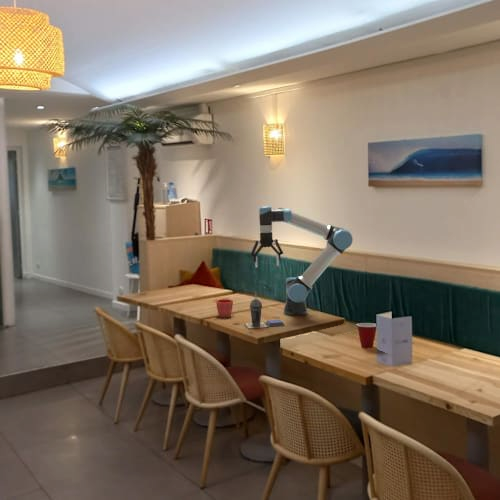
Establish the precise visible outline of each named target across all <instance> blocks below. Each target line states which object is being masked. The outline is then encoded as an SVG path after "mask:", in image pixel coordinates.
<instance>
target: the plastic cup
mask: <svg viewBox="0 0 500 500" xmlns="http://www.w3.org/2000/svg"><path fill="white" fill-rule="evenodd" d="M376 324H377V323H374V322H373V323H372V322H360V323H356V327H357V331H358V336H359V341H360V347H361V348H363V349H372V348H373V347H374V342H375V338H376V337H375V336H376V333H377V332H376V331H377V328H376Z"/></svg>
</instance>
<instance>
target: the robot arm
mask: <svg viewBox="0 0 500 500" xmlns="http://www.w3.org/2000/svg"><path fill="white" fill-rule="evenodd" d="M258 211H259V212H258V213H259V214H258V215H259V216H258V217H259V218H258V219H259V240H257V239H255V241H254V246H253V247H252V250H251V253H250V255H249V256H251V257H253V263H255V266H254V267H255V268H258V255H259V253H260V252H261V251H262V249H264V248H271V250H273V251H274V252H275V253H276V257H275V258H276V266H277V267H279V266H280V261H281V255H283V254H284V252H283V250H282V247H281V245H280V244H279V240H278V239H276V238H275V239H273V223H276V222H277V223H278V222H279V223H280V222H283V223H286V224H289V225H292V226H294V227H296V228H299V229H301V230H304V231H307V232H309V233H312V234H314V235H317V236H319V237H322V238H323V239H324V240H326V246H325V247H324V248H323V249H322V250H321V251H320V253H319V255H317V257H316V258H315V259H314V261H312V262H311V264H310V265H309V266H308V267H307V269H305V271H304V272H302V274H301V275H298V276H297V277H287V278H286V279H285V284H286V285H285V291H286V292H285V299H286V301H285V304H284V308H283V315H287V316H305V315H307V314H308V308H307V304H306V301H305V300H306V298H307V297H308V294H309V293H310V292H311V291H312V289H313V285H314V283H315V282H316V281H317V280H318V279H319V278H320V276H321V275H322V274H323V273H324V272H325V270H327V268H328V267H329V266H330V264H331V263H332V262H333V261H335V259H336V258H337V257H338V255H342V254H343V253H344V252H345V251H346V250H347V249H349V248H350V247H351V246H352V244H353V240H354V239H353V235H352V234H351V232H350V231H348V230H347V229H345V228H341V227H337V226H333V225H332V224H330V225H326V224H324V223H321V222H319V221H316V220H313V219H311V218H308V217H307V216H303V215H300V214H297V213H295V212H293V211H292V210H291V209H290V208H283V207H279V208H277V209H273V208H272V206H270V205H269V206H260V207H259V209H258ZM273 243H274V244H275V246H276V247H275V246H274V244H273ZM259 244H260V245H259ZM258 245H259V247H258ZM257 247H258V248H257ZM277 249H278V250H277Z"/></svg>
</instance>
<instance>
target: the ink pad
mask: <svg viewBox="0 0 500 500" xmlns="http://www.w3.org/2000/svg"><path fill="white" fill-rule="evenodd" d="M265 324H266V325H267V326H268V327H269V328H271V327H272V328H273V327H274V328H275V327H284V326H285V323H284V322H283V321H282V320H281V319H270V320H269V319H268V320H267V321H265Z"/></svg>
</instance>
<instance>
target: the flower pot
mask: <svg viewBox="0 0 500 500" xmlns="http://www.w3.org/2000/svg"><path fill="white" fill-rule="evenodd" d="M215 302H216V308H217V314H218V315H217V316H218V317H221V318H228V317H229V318H230V317H231V316H232V311H233V304H234V300H232V299H218V300H216V301H215Z"/></svg>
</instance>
